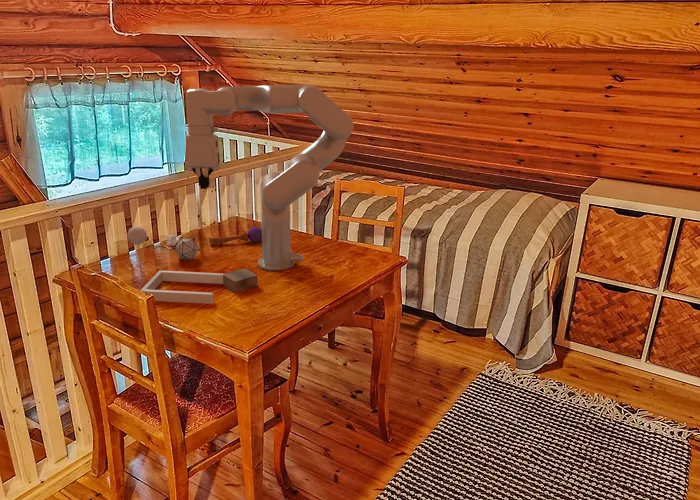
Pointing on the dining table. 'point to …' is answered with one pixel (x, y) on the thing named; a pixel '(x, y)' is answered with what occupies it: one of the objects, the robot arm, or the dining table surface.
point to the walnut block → (240, 280)
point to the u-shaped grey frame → (182, 295)
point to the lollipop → (137, 237)
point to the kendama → (239, 237)
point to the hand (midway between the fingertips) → (204, 188)
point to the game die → (186, 248)
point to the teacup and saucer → (172, 240)
